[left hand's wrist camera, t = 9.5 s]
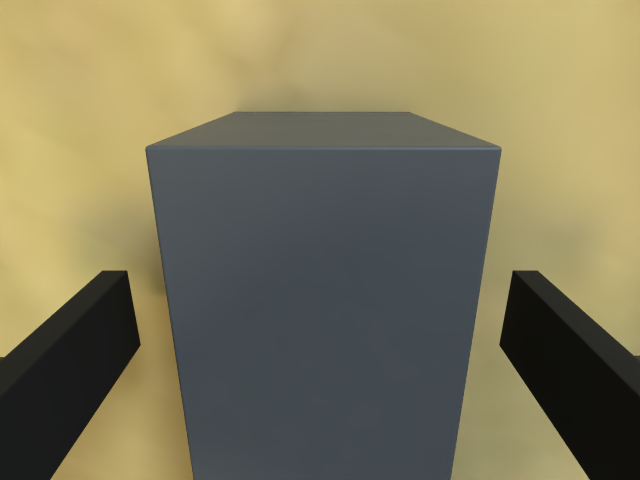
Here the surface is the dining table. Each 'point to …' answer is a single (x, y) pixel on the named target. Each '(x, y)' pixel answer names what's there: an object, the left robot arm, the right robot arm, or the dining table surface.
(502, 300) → the dining table surface
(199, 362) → the beam
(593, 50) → the dining table surface
